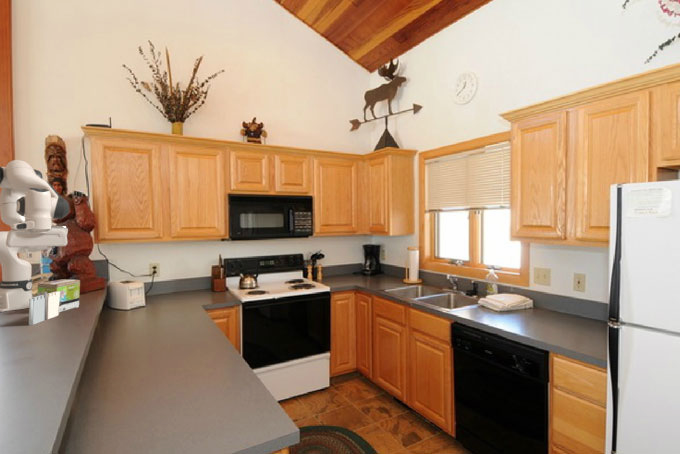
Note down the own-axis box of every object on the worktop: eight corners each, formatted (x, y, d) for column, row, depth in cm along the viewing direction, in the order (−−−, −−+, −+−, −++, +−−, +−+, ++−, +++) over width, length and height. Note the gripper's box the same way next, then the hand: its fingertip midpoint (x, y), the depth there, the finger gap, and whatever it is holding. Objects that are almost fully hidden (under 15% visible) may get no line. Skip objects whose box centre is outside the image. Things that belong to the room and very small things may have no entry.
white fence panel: (42, 320, 157) (42, 292, 157) (56, 315, 167) (57, 288, 167) (45, 320, 158) (45, 292, 158) (59, 315, 167) (60, 288, 167)
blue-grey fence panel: (41, 320, 157) (42, 294, 157) (44, 320, 157) (44, 294, 157) (28, 325, 149) (28, 298, 149) (31, 325, 149) (31, 298, 149)
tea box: (56, 314, 170) (56, 283, 170) (35, 313, 170) (36, 283, 170) (79, 307, 185) (80, 279, 185) (61, 306, 185) (61, 278, 185)
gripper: (66, 225, 163) (65, 255, 163) (5, 224, 147) (4, 257, 147) (69, 225, 159) (69, 256, 159) (7, 225, 143) (7, 259, 143)
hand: (37, 257), depth 153 cm, fingers open, 4 cm apart
